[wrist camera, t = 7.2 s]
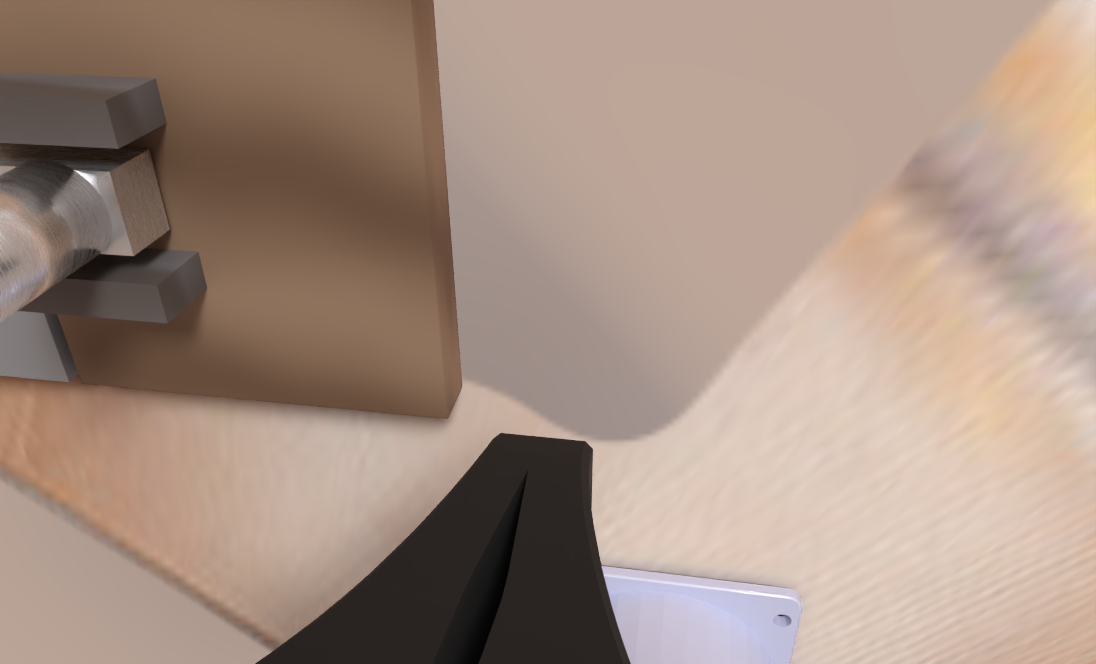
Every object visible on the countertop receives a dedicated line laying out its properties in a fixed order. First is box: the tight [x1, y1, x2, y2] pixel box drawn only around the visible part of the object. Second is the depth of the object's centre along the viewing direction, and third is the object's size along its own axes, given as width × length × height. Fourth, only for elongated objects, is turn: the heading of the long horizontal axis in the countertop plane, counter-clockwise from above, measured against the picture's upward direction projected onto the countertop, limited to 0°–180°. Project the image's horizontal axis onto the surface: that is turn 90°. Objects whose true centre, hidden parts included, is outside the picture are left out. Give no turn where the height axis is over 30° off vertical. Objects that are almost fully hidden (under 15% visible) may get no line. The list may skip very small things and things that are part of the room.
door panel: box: [0, 0, 462, 419], centre depth 20 cm, size 12×11×3 cm
